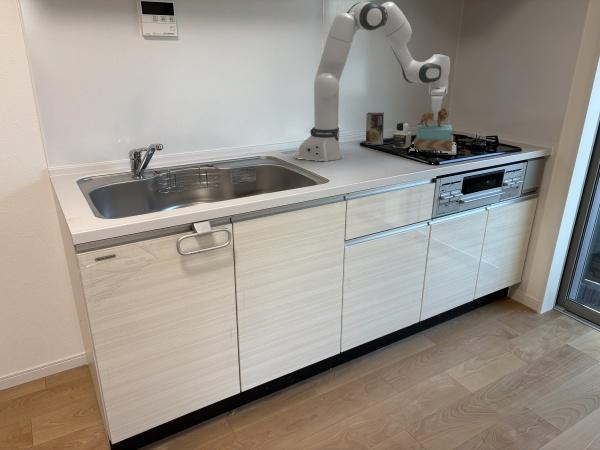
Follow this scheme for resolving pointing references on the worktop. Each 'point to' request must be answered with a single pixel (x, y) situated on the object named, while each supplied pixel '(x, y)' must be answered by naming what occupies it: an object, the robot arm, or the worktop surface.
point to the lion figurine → (441, 117)
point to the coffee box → (374, 128)
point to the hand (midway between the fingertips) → (435, 118)
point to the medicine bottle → (402, 136)
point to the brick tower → (434, 139)
